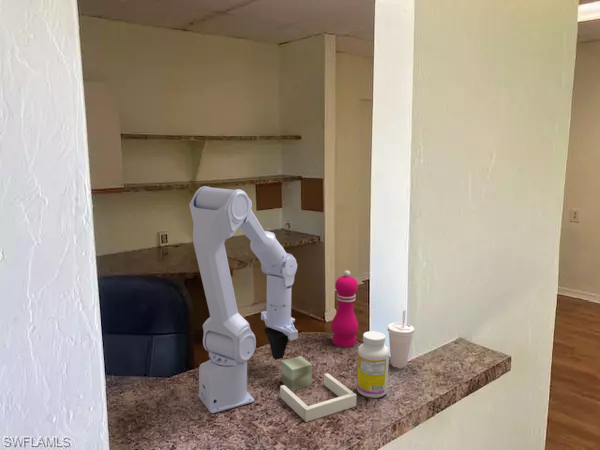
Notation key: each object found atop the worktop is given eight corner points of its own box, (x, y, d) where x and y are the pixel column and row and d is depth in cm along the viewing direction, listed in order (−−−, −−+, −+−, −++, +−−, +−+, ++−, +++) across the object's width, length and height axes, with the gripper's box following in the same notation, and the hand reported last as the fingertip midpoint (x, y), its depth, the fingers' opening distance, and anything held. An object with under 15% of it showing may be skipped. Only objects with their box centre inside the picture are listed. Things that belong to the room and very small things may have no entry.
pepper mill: (329, 346, 128) (331, 273, 125) (332, 336, 135) (334, 266, 132) (357, 349, 127) (360, 275, 124) (358, 338, 134) (361, 267, 131)
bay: (306, 422, 94) (306, 410, 93) (280, 397, 103) (280, 385, 102) (356, 406, 100) (356, 394, 99) (327, 383, 109) (327, 373, 108)
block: (292, 391, 105) (292, 369, 104) (280, 381, 110) (281, 360, 109) (311, 385, 108) (312, 364, 107) (300, 376, 112) (300, 355, 111)
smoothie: (405, 373, 114) (408, 316, 112) (380, 365, 118) (383, 310, 116) (416, 364, 119) (420, 309, 117) (392, 356, 123) (395, 303, 121)
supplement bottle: (365, 380, 111) (367, 326, 108) (392, 389, 107) (395, 334, 105) (350, 392, 105) (353, 336, 103) (378, 402, 101) (381, 344, 99)
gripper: (310, 309, 109) (308, 366, 111) (279, 291, 121) (278, 343, 124) (282, 314, 106) (281, 373, 108) (253, 295, 118) (253, 348, 120)
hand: (278, 357), depth 116 cm, fingers closed
